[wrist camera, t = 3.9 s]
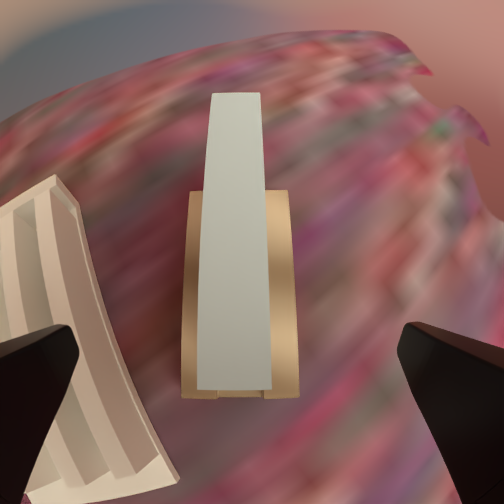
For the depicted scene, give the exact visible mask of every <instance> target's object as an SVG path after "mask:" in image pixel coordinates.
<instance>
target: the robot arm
mask: <svg viewBox="0 0 504 504" xmlns="http://www.w3.org/2000/svg"><path fill="white" fill-rule="evenodd" d="M397 355H398V358H399V360H400V363H401V366H402V368H403V371H404V373H405V376H406V379H407V381H408V384H409V387H410V389H411V392H412V394H413V396H414V399H415V401H416V403H417V405H418V407H419V409H420V411H421V413H422V415H423V417H424V419H425V421H426V423H427V425H428V427H429V429H430V431H431V433H432V435H433V438H434V440H435V442H436V444H437V446H438V448H439V451H440V453H441V455H442V457H443V459H444V462H445V464H446V466H447V468H448V471H449V473H450V475H451V478H452V480H453V482H454V485H455V487H456V490H457V492H458V494H459V497H460V499H461V502H462V504H504V349H503V348H500V347H497V346H494V345H491V344H487V343H484V342H481V341H478V340H475V339H472V338H469V337H465V336H462V335H459V334H456V333H453V332H450V331H447V330H444V329H440V328H437V327H434V326H431V325H428V324H425V323H422V322H409V323H407V324H405V326H404V328H403V331H402V334H401V337H400V340H399V343H398V347H397ZM78 359H79V347H78V344H77V342H76V339H75V336H74V334H73V331H72V328H71V327H70V326H69V325H64V324H55V325H52V326H49V327H46V328H43V329H40V330H37V331H34V332H31V333H28V334H25V335H22V336H19V337H16V338H13V339H10V340H7V341H4V342H1V343H0V504H21V501H22V498H23V495H24V492H25V489H26V487H27V484H28V481H29V479H30V476H31V473H32V471H33V468H34V465H35V463H36V460H37V458H38V456H39V453H40V451H41V448H42V446H43V443H44V441H45V439H46V436H47V434H48V432H49V430H50V427H51V425H52V423H53V421H54V418H55V416H56V414H57V412H58V410H59V408H60V406H61V403H62V401H63V399H64V397H65V394H66V392H67V389H68V386H69V383H70V381H71V378H72V375H73V372H74V370H75V367H76V364H77V362H78Z"/></svg>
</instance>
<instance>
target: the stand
mask: <svg viewBox="0 0 504 504" xmlns="http://www.w3.org/2000/svg"><path fill="white" fill-rule="evenodd" d="M265 200H266V223H267V248H268V274H269V303H270V335H271V373H272V390H197V320H198V283H199V257H200V237H201V219H202V203H203V191H190V196H189V207H188V219H187V232H186V247H185V263H184V281H183V304H182V338H181V398H191V399H217V398H218V397H263V398H264V399H278V398H296V397H299V366H298V340H297V318H296V299H295V282H294V266H293V251H292V237H291V224H290V212H289V200H288V190H265Z"/></svg>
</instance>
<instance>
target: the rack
mask: <svg viewBox="0 0 504 504" xmlns="http://www.w3.org/2000/svg"><path fill="white" fill-rule="evenodd" d="M55 324H64V325H69V326H70V327H71V328H72V331H73V334H74V336H75V339H76V342H77V344H78V347H79V359H78V362H77V364H76V367H75V370H74V372H73V375H72V378H71V381H70V383H69V386H68V389H67V392H66V394H65V397H64V399H63V401H62V403H61V406H60V408H59V410H58V412H57V414H56V416H55V418H54V421H53V423H52V425H51V427H50V430H49V432H48V434H47V436H46V439H45V441H44V443H43V446H42V448H41V451H40V453H39V456H38V458H37V460H36V463H35V465H34V468H33V471H32V473H31V476H30V479H29V481H28V484H27V487H26V489H25V492H24V494H25V493H26V494H27V496H28V497H29V499H30V501H31V503H32V504H85V503H91V502H98V501H104V500H109V499H115V498H120V497H124V496H129V495H134V494H138V493H142V492H146V491H150V490H154V489H158V488H162V487H165V486H169V485H172V484H176V483H177V482H178V481H179V479H180V476H179V475H178V473H177V471H176V469H175V468H174V466H173V464H172V462H171V461H170V459H169V457H168V455H167V453H166V451H165V449H164V448H163V446H162V444H161V442H160V440H159V438H158V436H157V434H156V432H155V430H154V428H153V426H152V424H151V422H150V420H149V418H148V415H147V413H146V411H145V409H144V407H143V405H142V402H141V400H140V398H139V396H138V393H137V391H136V389H135V386H134V384H133V382H132V379H131V377H130V374H129V372H128V369H127V367H126V364H125V362H124V359H123V357H122V354H121V351H120V349H119V346H118V343H117V340H116V338H115V335H114V332H113V329H112V326H111V323H110V320H109V317H108V314H107V311H106V308H105V305H104V301H103V298H102V295H101V292H100V288H99V285H98V281H97V278H96V274H95V270H94V267H93V263H92V259H91V255H90V251H89V247H88V242H87V238H86V234H85V229H84V225H83V220H82V215H81V210H80V205H79V203H78V201H77V200H76V199H75V198H74V197H73V195H72V194H71V193H70V192H69V190H68V189H67V188H66V187H65V185H64V184H63V183H62V182H61V180H60V179H59V178H58V177H57V175H56V174H54V175H53V176H51V177H49V178H47V179H45V180H44V181H42V182H40V183H39V184H37V185H35V186H34V187H32V188H30V189H29V190H27V191H25V192H24V193H22V194H20V195H19V196H17V197H16V198H14V199H13V200H11V201H9V202H8V203H6V204H5V205H3V206H2V207H0V343H1V342H4V341H7V340H10V339H13V338H16V337H19V336H22V335H25V334H28V333H31V332H34V331H37V330H40V329H43V328H46V327H49V326H52V325H55Z"/></svg>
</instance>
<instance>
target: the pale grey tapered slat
mask: <svg viewBox="0 0 504 504" xmlns="http://www.w3.org/2000/svg"><path fill="white" fill-rule="evenodd" d="M197 390H272V373H271V335H270V303H269V274H268V248H267V223H266V200H265V179H264V158H263V139H262V120H261V102H260V93H212V99H211V108H210V118H209V128H208V139H207V150H206V162H205V175H204V188H203V203H202V219H201V237H200V257H199V283H198V320H197Z"/></svg>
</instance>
